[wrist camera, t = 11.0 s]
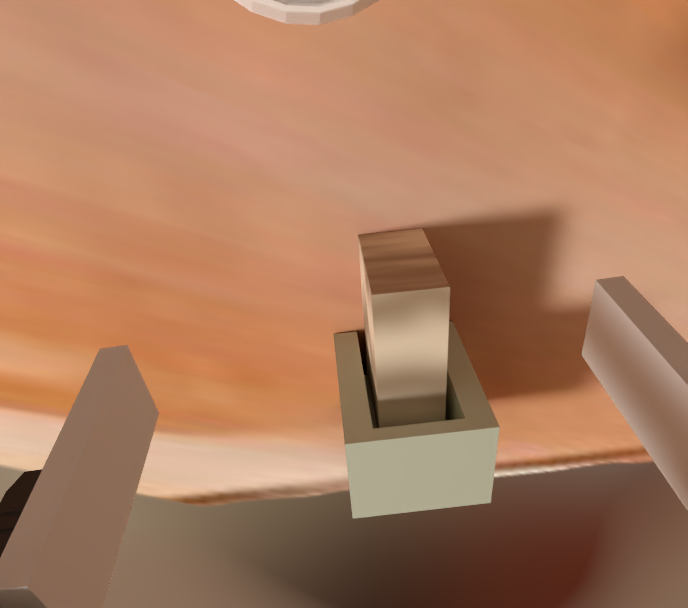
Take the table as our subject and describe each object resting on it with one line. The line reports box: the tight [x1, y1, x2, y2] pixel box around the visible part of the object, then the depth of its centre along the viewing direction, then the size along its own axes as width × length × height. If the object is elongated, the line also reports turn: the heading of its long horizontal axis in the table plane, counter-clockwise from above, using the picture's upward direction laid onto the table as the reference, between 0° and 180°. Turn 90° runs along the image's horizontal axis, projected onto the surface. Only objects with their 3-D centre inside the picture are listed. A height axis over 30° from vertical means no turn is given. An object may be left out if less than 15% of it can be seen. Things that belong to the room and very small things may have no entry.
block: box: [334, 321, 500, 518], centre depth 42 cm, size 8×10×12 cm
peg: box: [358, 228, 450, 428], centre depth 41 cm, size 14×5×9 cm, turn 4°
